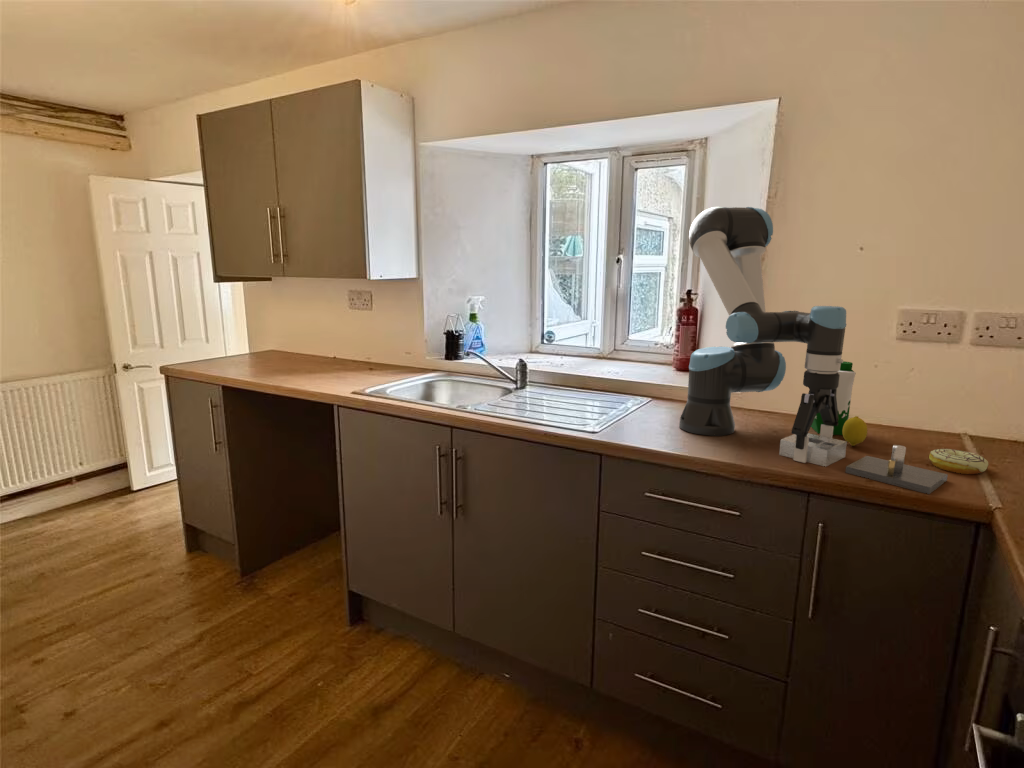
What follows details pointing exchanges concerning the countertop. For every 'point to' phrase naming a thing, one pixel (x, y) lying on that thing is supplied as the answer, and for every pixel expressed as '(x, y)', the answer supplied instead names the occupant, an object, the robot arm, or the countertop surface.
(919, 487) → the fixture
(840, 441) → the white boxy piece
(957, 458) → the decorated donut
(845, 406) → the milk carton
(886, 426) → the countertop surface
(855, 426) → the lemon
